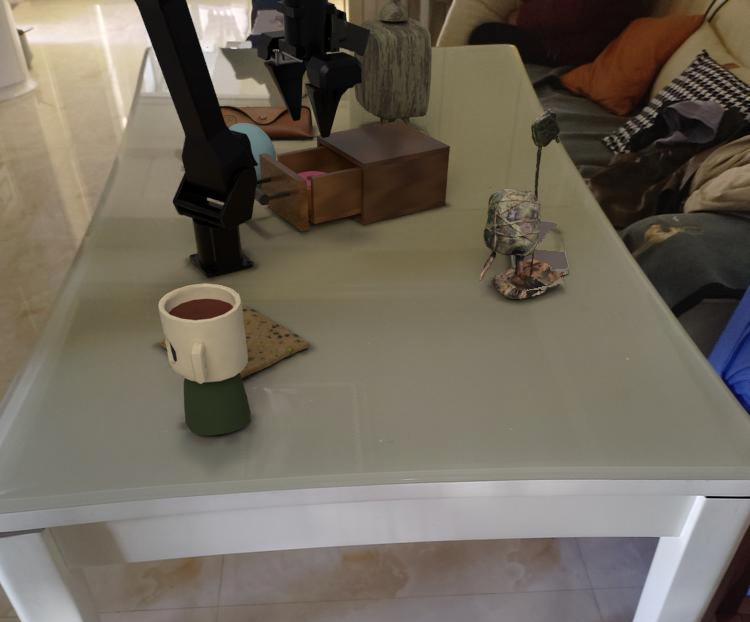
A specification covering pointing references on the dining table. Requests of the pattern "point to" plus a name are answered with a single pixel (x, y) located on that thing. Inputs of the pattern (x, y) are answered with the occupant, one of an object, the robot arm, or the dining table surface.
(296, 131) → the sunglasses case
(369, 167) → the cabinet
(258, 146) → the light blue ball
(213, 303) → the character mug
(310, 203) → the donut
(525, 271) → the plant with pod
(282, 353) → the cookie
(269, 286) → the dining table surface
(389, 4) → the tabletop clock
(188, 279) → the dining table surface
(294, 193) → the drawer
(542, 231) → the smartphone
